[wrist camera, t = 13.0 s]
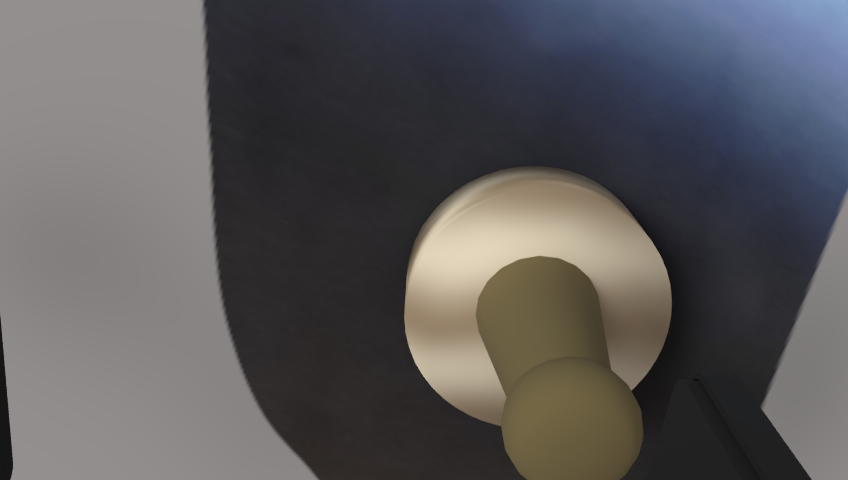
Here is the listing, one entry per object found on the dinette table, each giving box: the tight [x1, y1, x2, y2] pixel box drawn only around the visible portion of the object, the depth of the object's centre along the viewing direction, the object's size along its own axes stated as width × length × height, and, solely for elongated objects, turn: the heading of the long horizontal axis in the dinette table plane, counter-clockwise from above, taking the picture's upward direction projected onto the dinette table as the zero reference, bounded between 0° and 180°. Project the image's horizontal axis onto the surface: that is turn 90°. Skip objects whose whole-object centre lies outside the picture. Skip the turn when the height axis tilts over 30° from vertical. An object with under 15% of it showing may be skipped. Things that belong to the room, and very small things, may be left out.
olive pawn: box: [476, 256, 643, 480], centre depth 32 cm, size 6×6×11 cm
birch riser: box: [404, 166, 672, 426], centre depth 39 cm, size 13×13×4 cm
